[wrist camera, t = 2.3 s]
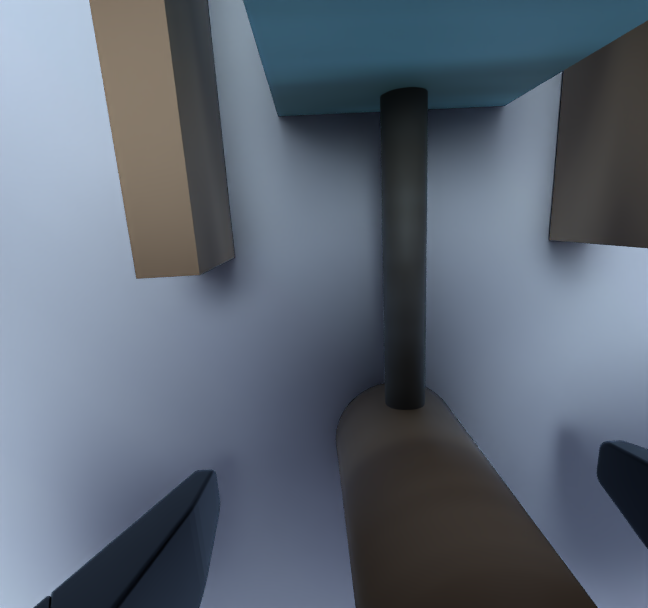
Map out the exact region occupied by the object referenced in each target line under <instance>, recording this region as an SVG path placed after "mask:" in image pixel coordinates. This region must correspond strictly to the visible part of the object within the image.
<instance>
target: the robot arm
mask: <svg viewBox="0 0 648 608" xmlns="http://www.w3.org/2000/svg"><path fill="white" fill-rule="evenodd" d="M597 477H598V480H599V482H600V484H601V485H602V487H603V488H604V489H605V491H606V492H607V494H608V495H609V496H610V498H611V499H612V501H613V502H614V503H615V505H616V506H617V507H618V509H619V510H620V512H621V513H622V514H623V516H624V517H625V519H626V520H627V521H628V523H629V524H630V525H631V527H632V528H633V530H634V531H635V532H636V534H637V535H638V537H639V538H640V539H641V541H642V542H643V543H644V545H645V546H646V547H647V549H648V449H645V448H642V447H639V446H637V445H634V444H631V443H628V442H625V441H620V440H618V441H606V442H603V443H602V444H601V446H600V450H599V457H598V465H597ZM219 511H220V497H219V490H218V483H217V476H216V472H215V471H214V470H212V469H211V470H198V471H196V472H194V473H193V474H192V475H191V476H189V477H188V478H187V479H186V480H185V481H183V482H182V483H181V484H180V485H179V486H177V487H176V488H175V489H174V490H173V491H172V492H170V493H169V494H168V495H167V496H166V497H164V498H163V499H162V500H161V501H160V502H158V503H157V504H156V505H155V506H154V507H153V508H151V509H150V510H149V511H148V512H147V513H145V514H144V515H143V516H142V517H141V518H140V519H138V520H137V521H136V522H135V523H134V524H132V525H131V526H130V527H129V528H128V529H126V530H125V531H124V532H123V533H122V534H121V535H119V536H118V537H117V538H116V539H115V540H113V541H112V542H111V543H110V544H109V545H107V546H106V547H105V548H104V549H103V550H102V551H100V552H99V553H98V554H97V555H96V556H94V557H93V558H92V559H91V560H90V561H89V562H87V563H86V564H85V565H84V566H83V567H81V568H80V569H79V570H78V571H77V572H75V573H74V574H73V575H72V576H71V577H70V578H68V579H67V580H66V581H65V582H64V583H62V584H61V585H60V586H59V587H58V588H56V589H55V590H54V591H53V592H52V594H51V597H50V596H47V597H46V598H44V599H43V600H42V601H41V602H40V603H38V604H37V605H36V606H35V607H34V608H199V607H200V604H201V600H202V597H203V593H204V589H205V585H206V581H207V576H208V571H209V565H210V560H211V554H212V549H213V544H214V538H215V533H216V527H217V522H218V517H219Z"/></svg>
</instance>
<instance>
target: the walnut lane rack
mask: <svg viewBox="0 0 648 608" xmlns="http://www.w3.org/2000/svg"><path fill="white" fill-rule="evenodd" d="M89 2H90V8H91V14H92V19H93V25H94V31H95V37H96V43H97V49H98V55H99V61H100V67H101V73H102V78H103V84H104V90H105V96H106V102H107V108H108V114H109V120H110V126H111V132H112V138H113V143H114V149H115V155H116V161H117V167H118V173H119V179H120V185H121V191H122V197H123V202H124V208H125V214H126V220H127V226H128V232H129V238H130V244H131V250H132V256H133V262H134V267H135V273H136V279H139V278H156V277H174V276H191V275H201V274H203V273H205V272H207V271H209V270H211V269H213V268H215V267H217V266H219V265H221V264H223V263H225V262H227V261H229V260H231V259H233V258H235V254H234V245H233V236H232V226H231V217H230V207H229V198H228V189H227V179H226V170H225V161H224V151H223V142H222V133H221V123H220V114H219V104H218V95H217V86H216V76H215V67H214V58H213V48H212V39H211V29H210V20H209V11H208V1H207V0H89ZM549 240H553V241H566V242H578V243H590V244H603V245H615V246H627V247H640V248H648V20H647V21H646V22H644V23H642V24H641V25H639V26H637V27H636V28H634V29H632V30H631V31H629V32H627V33H626V34H624V35H622V36H621V37H619V38H617V39H616V40H614V41H612V42H611V43H609V44H607V45H606V46H604V47H602V48H601V49H599V50H597V51H595V52H594V53H592V54H590V55H589V56H587V57H585V58H584V59H582V60H580V61H579V62H577V63H575V64H574V65H572V66H570V67H569V68H567V69H565V70H564V72H563V84H562V96H561V107H560V119H559V131H558V143H557V154H556V166H555V178H554V190H553V201H552V213H551V225H550V237H549Z"/></svg>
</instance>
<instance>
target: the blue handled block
mask: <svg viewBox="0 0 648 608" xmlns="http://www.w3.org/2000/svg"><path fill="white" fill-rule="evenodd" d="M243 2H244V5H245V8H246V12H247V15H248V18H249V21H250V25H251V28H252V31H253V35H254V38H255V41H256V45H257V48H258V51H259V55H260V58H261V61H262V65H263V68H264V71H265V75H266V78H267V81H268V85H269V88H270V91H271V95H272V98H273V101H274V104H275V108H276V111H277V114H278V116H294V115H316V114H337V113H359V112H380V127H381V187H382V247H383V307H384V367H385V383H383V384H379V385H376V386H374V387H371V388H369V389H367V390H366V391H364V392H362V393H361V394H359V395H358V396H357V397H356V398H355V399H354V400H352V401H351V403H350V404H349V405H348V406H347V407H346V409H345V410H344V412H343V414H342V416H341V418H340V420H339V423H338V426H337V431H336V446H337V455H338V463H339V472H340V480H341V488H342V497H343V505H344V514H345V522H346V530H347V539H348V547H349V556H350V564H351V573H352V581H353V589H354V598H355V606H356V608H598V607H597V606H596V605H595V603H594V602H593V601H592V599H591V598H590V597H589V595H588V594H587V593H586V591H585V590H584V589H583V587H582V586H581V585H580V583H579V582H578V581H577V579H576V578H575V577H574V575H573V574H572V573H571V571H570V570H569V569H568V567H567V566H566V564H565V563H564V562H563V560H562V559H561V558H560V556H559V555H558V554H557V552H556V551H555V550H554V548H553V547H552V546H551V544H550V543H549V542H548V540H547V539H546V538H545V536H544V535H543V534H542V532H541V531H540V530H539V528H538V527H537V526H536V524H535V523H534V522H533V520H532V519H531V518H530V516H529V515H528V514H527V512H526V511H525V510H524V508H523V507H522V506H521V504H520V503H519V502H518V500H517V499H516V497H515V496H514V495H513V493H512V492H511V491H510V489H509V488H508V487H507V485H506V484H505V483H504V481H503V480H502V479H501V477H500V476H499V475H498V473H497V472H496V471H495V469H494V468H493V467H492V465H491V464H490V463H489V461H488V460H487V459H486V457H485V456H484V455H483V453H482V452H481V451H480V449H479V448H478V447H477V445H476V444H475V443H474V441H473V440H472V439H471V437H470V436H469V434H468V433H467V432H466V430H465V429H464V428H463V426H462V425H461V424H460V422H459V421H458V420H457V418H456V417H455V416H454V414H453V413H452V412H451V410H450V409H449V408H448V406H447V405H446V404H445V402H444V401H443V400H442V399H441V398H440V397H439V396H438V395H437V394H436V393H434V392H433V391H432V390H430V389H428V388H426V387H425V338H426V235H427V132H428V109H445V108H467V107H489V106H505V105H507V104H508V103H510V102H512V101H513V100H515V99H517V98H518V97H520V96H522V95H523V94H525V93H527V92H528V91H530V90H532V89H533V88H535V87H537V86H539V85H540V84H542V83H544V82H545V81H547V80H549V79H550V78H552V77H554V76H555V75H557V74H559V73H560V72H562V71H564V70H565V69H567V68H569V67H570V66H572V65H574V64H575V63H577V62H579V61H580V60H582V59H584V58H585V57H587V56H589V55H590V54H592V53H594V52H595V51H597V50H599V49H601V48H602V47H604V46H606V45H607V44H609V43H611V42H612V41H614V40H616V39H617V38H619V37H621V36H622V35H624V34H626V33H627V32H629V31H631V30H632V29H634V28H636V27H637V26H639V25H641V24H642V23H644V22H646V21H647V20H648V0H243Z"/></svg>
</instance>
